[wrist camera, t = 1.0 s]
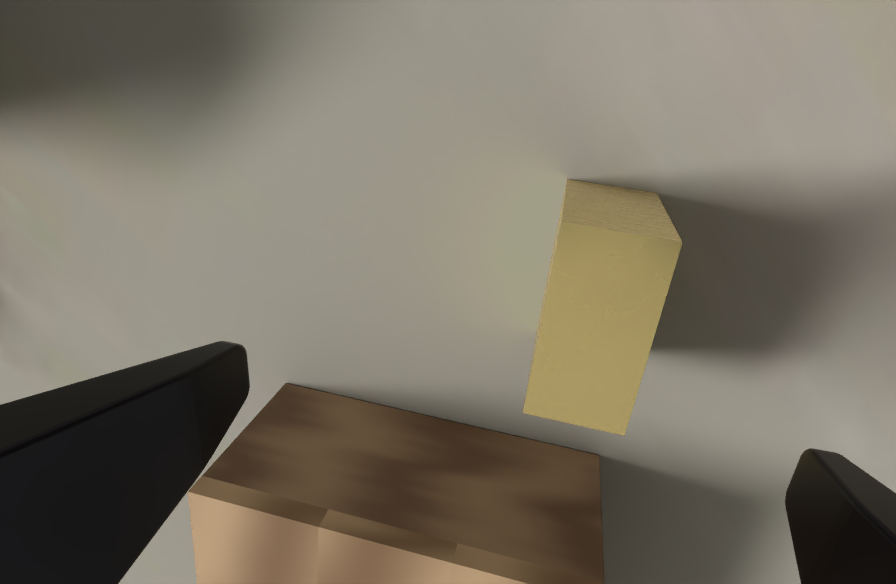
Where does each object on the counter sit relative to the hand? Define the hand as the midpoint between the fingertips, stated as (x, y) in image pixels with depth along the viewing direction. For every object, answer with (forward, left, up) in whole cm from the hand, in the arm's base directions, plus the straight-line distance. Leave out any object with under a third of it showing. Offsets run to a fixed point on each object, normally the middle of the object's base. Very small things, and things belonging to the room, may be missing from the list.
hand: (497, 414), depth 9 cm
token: (-2, +2, -12) cm, 12 cm away
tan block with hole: (+3, +17, -12) cm, 21 cm away
